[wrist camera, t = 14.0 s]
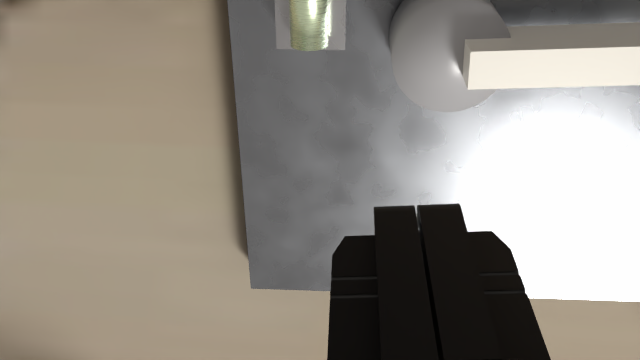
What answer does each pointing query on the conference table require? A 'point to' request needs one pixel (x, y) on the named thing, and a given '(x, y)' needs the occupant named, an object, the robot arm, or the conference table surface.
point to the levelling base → (429, 149)
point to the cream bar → (501, 53)
